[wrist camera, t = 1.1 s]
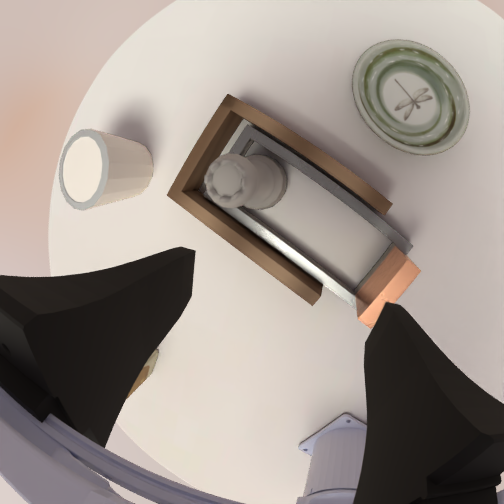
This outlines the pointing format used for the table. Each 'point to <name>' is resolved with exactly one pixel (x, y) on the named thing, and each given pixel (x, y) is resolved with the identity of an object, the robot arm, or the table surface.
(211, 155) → the walnut lane
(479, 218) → the table surface
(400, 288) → the frame
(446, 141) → the saucer
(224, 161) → the rook chess piece
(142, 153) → the shot glass
